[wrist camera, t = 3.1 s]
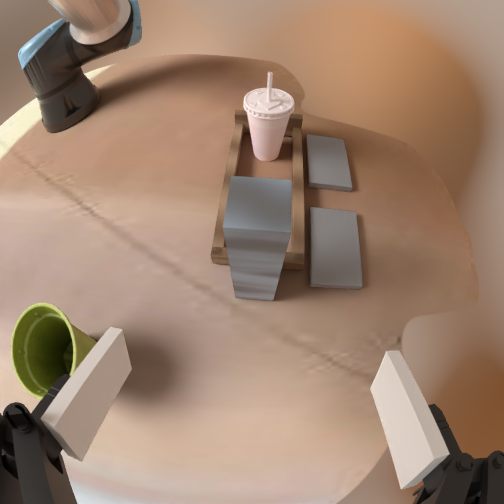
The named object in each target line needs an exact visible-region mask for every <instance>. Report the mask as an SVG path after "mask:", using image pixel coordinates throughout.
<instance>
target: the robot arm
mask: <svg viewBox="0 0 504 504" xmlns="http://www.w3.org/2000/svg"><path fill="white" fill-rule="evenodd" d="M47 1H48V2H49V3H50V4H51V5H52V6H53V7H54V8H55V9H56V10H57V11H58V12H59V13H61V15H62V16H63V17H65V18H66V19H67V20H68V22H66V21H65V20H64V19H63V18H62V19H60V20H58V21H56V22H54V23H53V24H51V25H50V26H48V27H47V28H46V29H44V30H43V31H41V32H40V33H39V34H37V35H36V36H35V37H33V38H32V39H31V40H30V41H29V42H27V43H26V44H25V45H24V46H23V47H22V48H21V49H20V51H19V54H18V58H19V61H20V64H21V67H22V70H23V71H24V73H25V75H26V77H27V79H28V81H29V83H30V85H31V87H32V89H33V91H34V93H35V95H36V97H37V98H38V101H39V104H40V109H41V114H42V123H43V125H44V127H45V129H46V130H47V131H48V132H50V133H55V132H59V131H62V130H64V129H67V128H69V127H70V126H72V125H74V124H76V123H77V122H79V121H80V120H82V119H83V118H84V117H85V116H87V115H88V114H89V113H90V112H91V111H92V110H93V109H94V108H95V107H96V105H97V104H98V102H99V100H100V94H99V91H98V89H97V87H96V86H95V85H93V84H92V83H91V82H90V80H89V79H88V78H87V77H86V76H85V75H84V73H83V71H82V69H81V66H82V65H84V64H86V63H89V62H91V61H93V60H96V59H98V58H101V57H103V56H106V55H108V54H111V53H113V52H116V51H119V50H122V49H127V48H129V47H130V46H132V45H135V44H137V43H139V42H140V40H141V37H142V28H141V16H140V10H139V4H138V1H137V0H47ZM131 370H132V367H131V363H130V359H129V355H128V351H127V347H126V342H125V338H124V333H123V329H119V328H114V327H109V329H108V330H107V331H106V332H105V334H104V335H103V336H102V337H101V338H100V340H99V341H98V342H97V343H96V345H95V346H94V347H93V348H92V350H91V351H90V352H89V354H88V355H87V356H86V357H85V359H84V360H83V361H82V362H81V364H80V365H79V366H78V368H77V369H76V370H75V372H74V373H73V374H72V376H70V375H68V374H64V375H63V376H61V377H60V378H58V379H57V380H56V381H55V382H54V384H53V385H52V386H51V388H50V389H49V390H48V392H47V394H45V396H44V397H43V398H42V400H41V401H40V402H39V404H38V405H37V406H36V408H35V409H34V410H33V412H32V413H31V414H30V412H29V411H28V409H27V408H26V407H25V405H24V404H21V403H17V402H15V403H12V404H9V405H8V406H7V407H6V408H5V410H4V412H3V416H2V415H1V413H0V504H77V501H76V499H75V496H74V493H73V490H72V488H71V485H70V481H69V478H68V475H67V472H66V468H65V465H64V461H63V458H62V455H61V453H60V452H61V451H62V449H63V450H64V451H65V452H66V453H67V454H68V455H69V456H71V457H73V458H75V459H77V460H79V461H81V462H82V460H83V458H84V456H85V454H86V452H87V450H88V449H89V447H90V445H91V443H92V441H93V439H94V437H95V435H96V433H97V431H98V429H99V428H100V426H101V424H102V422H103V420H104V418H105V416H106V414H107V413H108V411H109V409H110V407H111V405H112V404H113V402H114V400H115V398H116V396H117V395H118V393H119V391H120V389H121V387H122V386H123V384H124V382H125V380H126V379H127V377H128V375H129V373H130V372H131ZM370 390H371V393H372V395H373V398H374V401H375V404H376V407H377V410H378V413H379V416H380V419H381V423H382V426H383V429H384V432H385V435H386V439H387V442H388V445H389V448H390V452H391V455H392V459H393V462H394V465H395V469H396V473H397V477H398V481H399V484H400V488H401V489H405V488H408V487H412V486H415V485H417V484H418V483H419V482H420V481H421V480H423V482H424V485H423V486H421V487H420V488H419V489H418V490H416V491H415V492H414V494H413V495H416V494H417V493H418V492H419V493H418V495H417V497H416V499H415V501H414V503H413V504H504V453H503V452H502V451H494V452H493V453H491V454H490V455H489V456H488V457H487V458H479V459H473V457H472V456H471V455H469V454H467V453H462V452H461V450H460V449H459V446H458V444H457V442H456V440H455V438H454V436H453V434H452V431H451V429H450V428H449V425H448V423H447V421H446V419H445V417H444V415H443V413H442V411H441V410H440V409H439V408H438V407H437V406H436V405H435V404H432V405H427V403H426V401H425V399H424V397H423V395H422V393H421V391H420V389H419V387H418V385H417V383H416V381H415V379H414V377H413V375H412V373H411V371H410V369H409V368H408V366H407V364H406V362H405V360H404V358H403V356H402V355H401V353H400V351H399V350H395V351H386V353H385V356H384V358H383V360H382V363H381V365H380V368H379V370H378V372H377V375H376V377H375V379H374V381H373V384H372V386H371V388H370ZM2 449H3V450H2ZM480 491H481V492H480Z"/></svg>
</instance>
